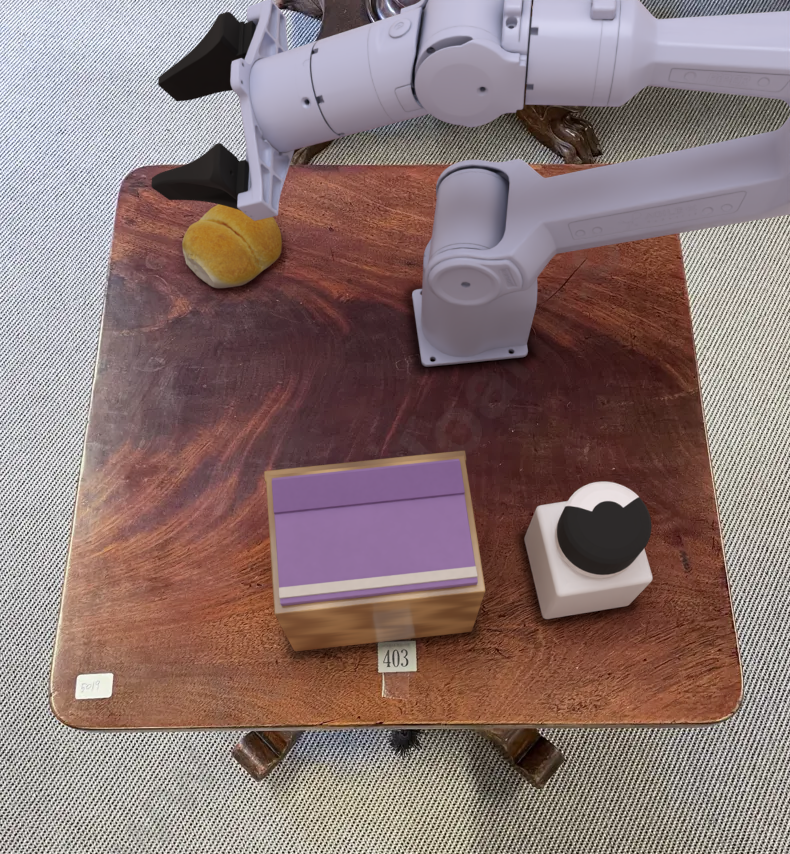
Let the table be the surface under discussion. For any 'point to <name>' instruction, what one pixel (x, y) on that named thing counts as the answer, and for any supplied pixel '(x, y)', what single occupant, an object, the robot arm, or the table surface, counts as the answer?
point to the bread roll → (230, 246)
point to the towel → (372, 532)
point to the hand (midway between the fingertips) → (164, 138)
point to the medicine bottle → (589, 550)
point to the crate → (382, 612)
